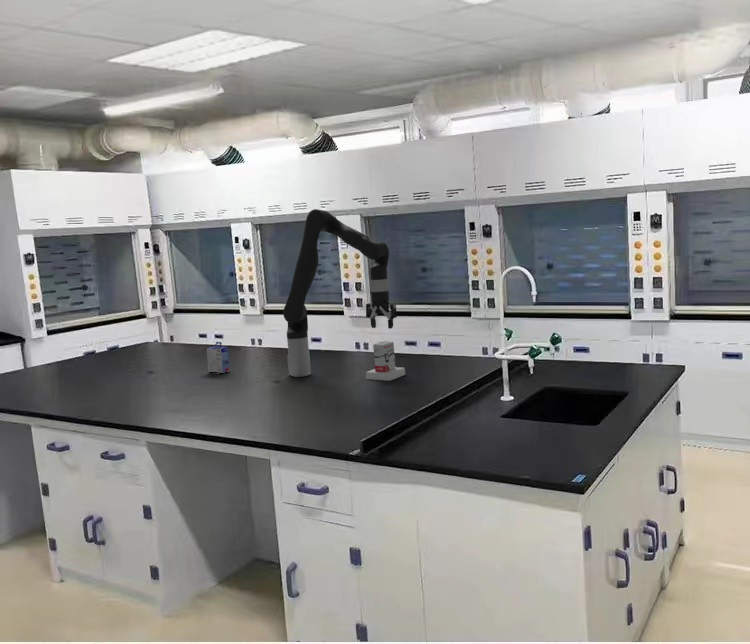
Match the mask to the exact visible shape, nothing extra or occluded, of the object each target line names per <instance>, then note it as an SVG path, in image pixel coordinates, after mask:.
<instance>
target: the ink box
mask: <svg viewBox="0 0 750 644" xmlns="http://www.w3.org/2000/svg"><path fill="white" fill-rule="evenodd" d="M372 349H373V360H374V369H375V371H376V372H386V371H389V370H392V369H395V367H396V359H395V357H396V356H395V345H394V341H388V340H383V341H379V342H377V343H373V344H372Z"/></svg>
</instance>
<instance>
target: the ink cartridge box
mask: <svg viewBox="0 0 750 644" xmlns="http://www.w3.org/2000/svg"><path fill="white" fill-rule="evenodd" d="M206 356H207V357H206V358H207V368H208V370H207V371H208V372H209V371H210V372H226V371H231V363H230V361H231V360H230V350H229V346H222V342H221V341H216V342H215V345H214V346H210V347H207V348H206Z"/></svg>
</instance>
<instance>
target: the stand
mask: <svg viewBox="0 0 750 644" xmlns="http://www.w3.org/2000/svg"><path fill="white" fill-rule="evenodd" d="M405 375H406V369H405V367H397V366H395V369H392V370H389V371H386V372H376V371H375V368H373V369H371V370H368V371H365V377H366V380H373V381H386V382H387V381H389V382H390V381H393V380H396V379H398V378H400V377H403V376H405Z"/></svg>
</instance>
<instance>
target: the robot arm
mask: <svg viewBox="0 0 750 644" xmlns="http://www.w3.org/2000/svg"><path fill="white" fill-rule="evenodd" d="M321 232H323V233H328V234H331V235H334V236H336V237H338V238H339V239H340V240H341V241H343V242H344V243H345V244H347V245H348V246H350V247H351V248H354V249H355V250H358V251H359V252H360V253H361V254H362V255H363V256H365V258H368V259H370V260H373V261H374V262H373V265H372V266H371V267H370V269H369V271H370V272H369V275H370V296H371V297H370V300H371V303H365V317H366V319H367V318H368V319H370V326H371V328H372V329H375V328H377V322H376V321H377V320H376V317H377V315H384V316H385V317H386V318H387V327H388V329H393V328H394V319H397V317H398V313H397V312H398V311H397V304H396V303H390V291H389V290H390V289H389V288H390V287H389V281H388V268H387V267H388V263H389V257H390V251H389V247H388V244H386V243H385V242H383V241H378V242H376V241H375V242H374V241H371V240H370V237H369V236H367V235H366V234H364V233H363V232H360V231H358V230H356V229H355V228H352V227H350V226H348V225H346V224H345V223H343V221H341V220H339V219H338V218H337V217H335V216H334V215H332V214H331V212H328V211H327V210H322V209H318V208H314V209H312V210H310V211H309V212H308V214H307V216H306V219H305V226H304V231H303V236H302V237H303V238H302V242H301V247H300V250H299V253H298V256H297V261H296V264H295V268H294V272H293V277H292V282H291V288H290V291H289V294H288V298H287V300H286V302H285V305H284V307H283V311H282V314H283V318H284V320H285V321H286V322H287V329H286V330H287V331H286V341H287V342H286V343H287V351H288V354H287V355H286V360H287V367H288V376H290V375H291V376H290V377H292V376H293V377H294V378H301V377H306V376H310V375H311V374H312V371H311V370H312V369H311V358H310V346H309V336H308V330H309V324H308V323H309V322H308V311H307V308H306V305H305V303H306V300H307V299H306V298H307V296H308V293H309V292H308V291H309V290H310V288H311V286H312V285H313V282H314V279H315V277H316V273H317V271H318V266H319V259H320V258H319V252H318V251H319V250H318V242H319V240H318V239H319V236H320V233H321Z"/></svg>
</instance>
